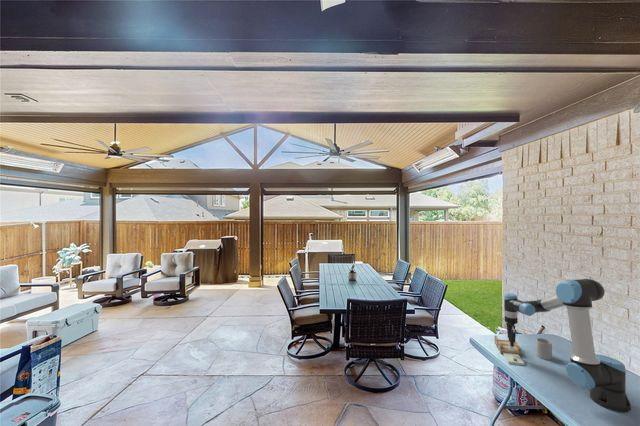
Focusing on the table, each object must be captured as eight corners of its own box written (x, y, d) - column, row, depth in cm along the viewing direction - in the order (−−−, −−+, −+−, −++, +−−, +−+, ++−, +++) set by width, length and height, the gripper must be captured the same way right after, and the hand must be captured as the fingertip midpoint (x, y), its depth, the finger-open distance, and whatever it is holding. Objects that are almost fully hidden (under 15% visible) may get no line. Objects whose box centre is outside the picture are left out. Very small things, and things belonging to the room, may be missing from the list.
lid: (524, 366, 182) (524, 361, 182) (508, 364, 185) (508, 359, 185) (518, 357, 193) (518, 352, 193) (503, 355, 196) (503, 350, 196)
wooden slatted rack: (520, 356, 193) (520, 348, 193) (500, 354, 197) (500, 345, 197) (513, 345, 208) (513, 337, 208) (494, 343, 212) (494, 335, 212)
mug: (554, 360, 186) (554, 344, 186) (539, 358, 189) (539, 342, 189) (546, 352, 198) (546, 336, 198) (532, 350, 201) (532, 335, 200)
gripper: (520, 320, 185) (521, 355, 185) (514, 313, 197) (514, 346, 198) (507, 319, 188) (508, 354, 188) (501, 312, 200) (502, 345, 200)
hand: (511, 350), depth 193 cm, fingers closed
